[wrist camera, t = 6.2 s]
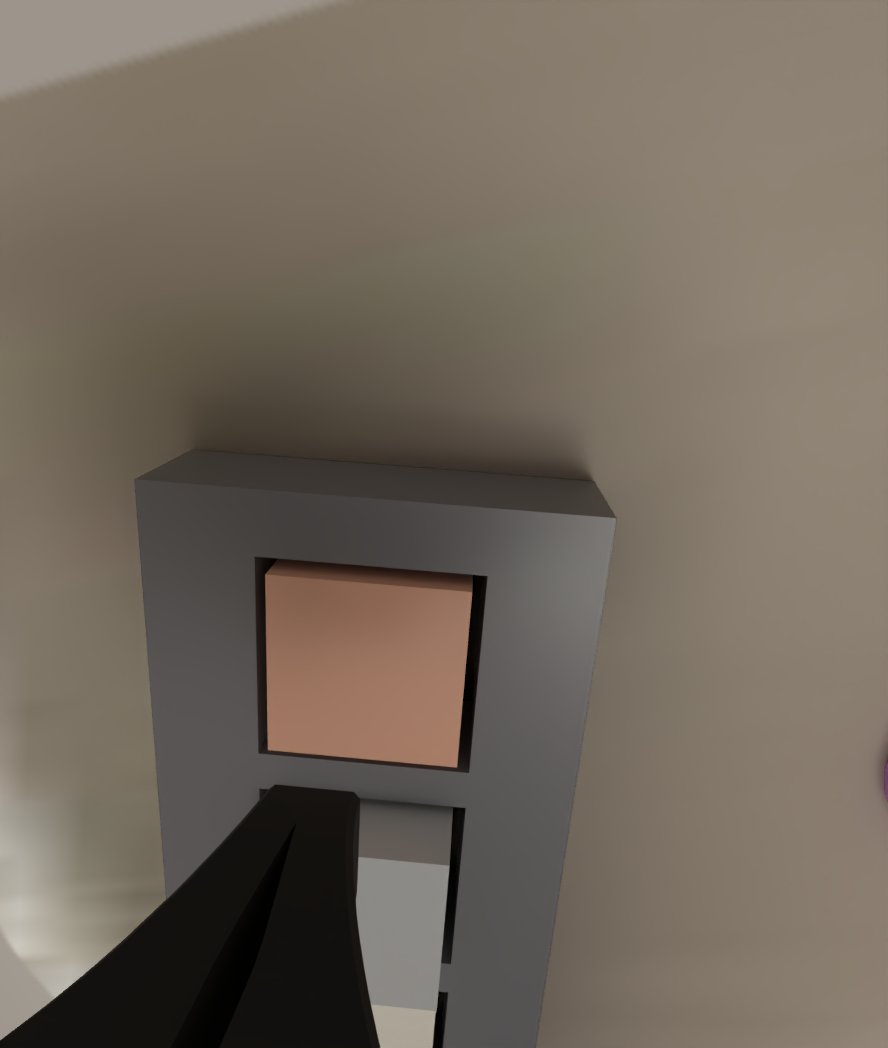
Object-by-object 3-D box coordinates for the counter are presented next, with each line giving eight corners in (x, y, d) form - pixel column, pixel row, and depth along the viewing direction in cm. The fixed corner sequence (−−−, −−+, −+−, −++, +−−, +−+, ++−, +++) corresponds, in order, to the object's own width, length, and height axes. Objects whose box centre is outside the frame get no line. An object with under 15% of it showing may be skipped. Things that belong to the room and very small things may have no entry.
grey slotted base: (513, 1057, 23) (517, 1163, 20) (220, 1025, 23) (183, 1126, 21) (594, 481, 17) (616, 518, 14) (192, 449, 17) (134, 479, 14)
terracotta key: (460, 696, 19) (456, 767, 16) (300, 682, 19) (268, 749, 16) (474, 544, 17) (472, 592, 14) (300, 529, 17) (265, 574, 15)
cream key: (433, 1015, 22) (426, 1120, 20) (299, 1001, 23) (273, 1103, 20) (442, 911, 21) (435, 1006, 18) (300, 897, 21) (271, 990, 18)
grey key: (443, 906, 19) (436, 1011, 16) (288, 890, 19) (255, 992, 17) (455, 776, 18) (449, 865, 15) (288, 760, 18) (251, 846, 15)
